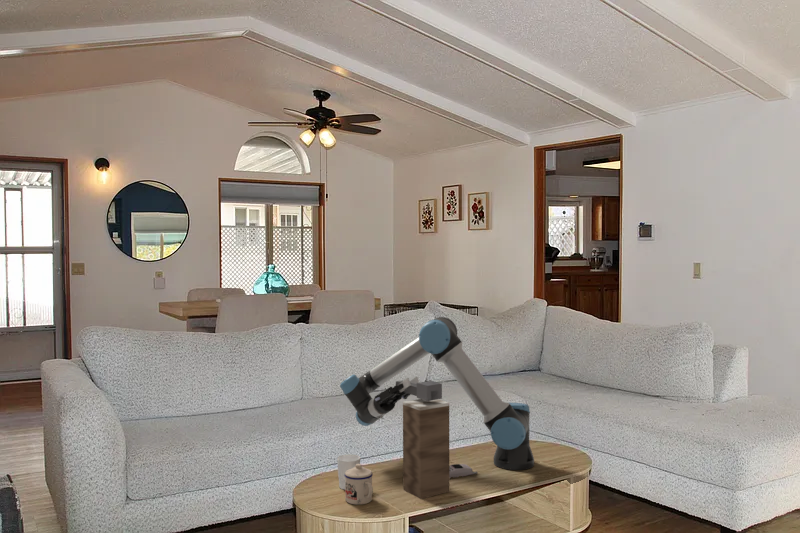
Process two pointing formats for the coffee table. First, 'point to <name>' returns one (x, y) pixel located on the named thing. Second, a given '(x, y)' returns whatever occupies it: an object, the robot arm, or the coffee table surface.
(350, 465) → the white cup
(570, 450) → the coffee table surface
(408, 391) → the gray block
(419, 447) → the brown wooden tall block
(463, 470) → the mobile phone
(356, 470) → the teacup with lid
